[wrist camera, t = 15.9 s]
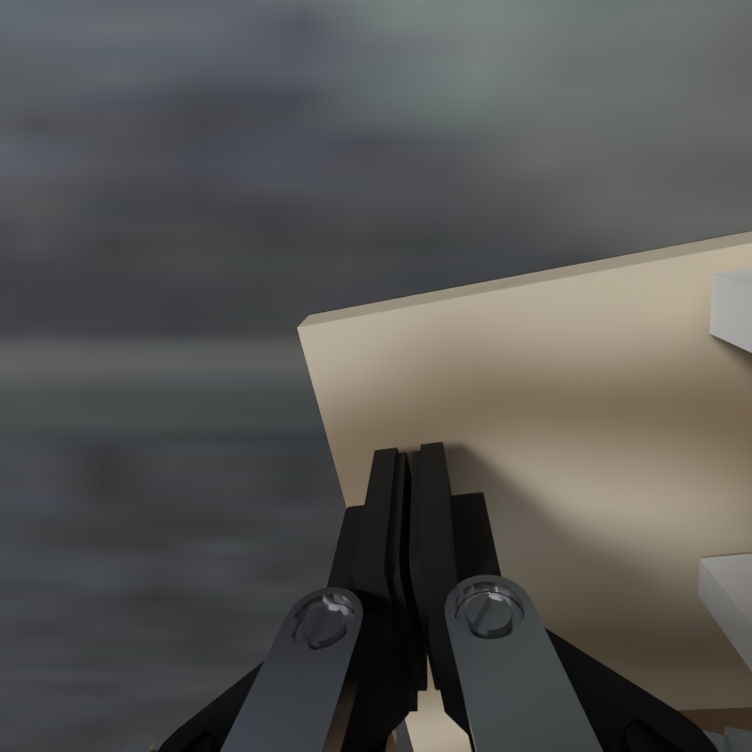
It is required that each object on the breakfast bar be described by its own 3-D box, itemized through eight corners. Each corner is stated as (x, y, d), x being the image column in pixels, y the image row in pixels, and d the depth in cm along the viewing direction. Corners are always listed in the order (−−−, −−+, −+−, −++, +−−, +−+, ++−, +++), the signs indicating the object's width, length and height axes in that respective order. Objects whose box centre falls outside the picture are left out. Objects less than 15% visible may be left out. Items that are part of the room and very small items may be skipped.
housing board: (886, 844, 16) (969, 959, 14) (448, 841, 19) (452, 938, 17) (1090, 167, 9) (1355, 152, 6) (309, 315, 11) (277, 347, 9)
